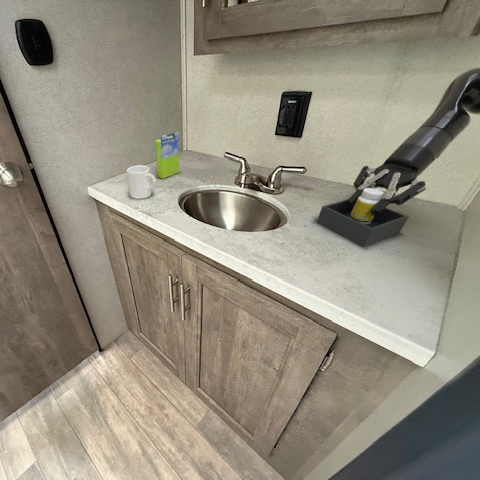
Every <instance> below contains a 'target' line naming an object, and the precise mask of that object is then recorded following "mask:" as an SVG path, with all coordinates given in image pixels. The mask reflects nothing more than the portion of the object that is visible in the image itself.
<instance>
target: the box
mask: <svg viewBox="0 0 480 480" xmlns="http://www.w3.org/2000/svg"><path fill="white" fill-rule="evenodd" d="M179 134H180V132H179V131H176V132H173V133H169V134H163V135H161V136H160V139H155V140H154V143H155V144H154V145H155V157H156V170H157V177H158V178H160V179H165V178H167V177H170V176H171V177H172V176H173V175H176V174H179V173H180V141H179V140H180V137H179V136H180V135H179Z"/></svg>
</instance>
